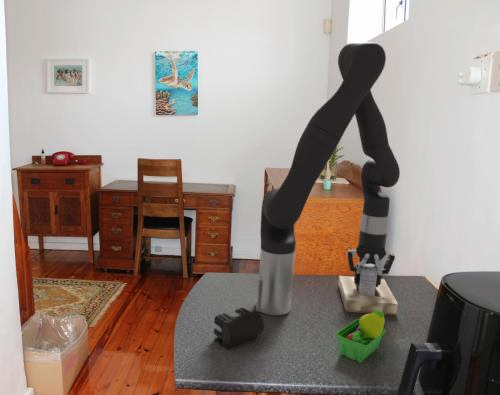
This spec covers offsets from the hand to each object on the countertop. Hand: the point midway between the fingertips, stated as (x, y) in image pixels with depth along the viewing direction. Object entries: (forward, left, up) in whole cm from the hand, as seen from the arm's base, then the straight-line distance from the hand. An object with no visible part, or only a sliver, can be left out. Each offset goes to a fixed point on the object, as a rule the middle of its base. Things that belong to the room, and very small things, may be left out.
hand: (366, 285), depth 134 cm
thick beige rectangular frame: (0, 0, -5) cm, 5 cm away
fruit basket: (-6, -30, -5) cm, 31 cm away
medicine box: (0, 0, -3) cm, 3 cm away
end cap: (-35, -30, -5) cm, 46 cm away
